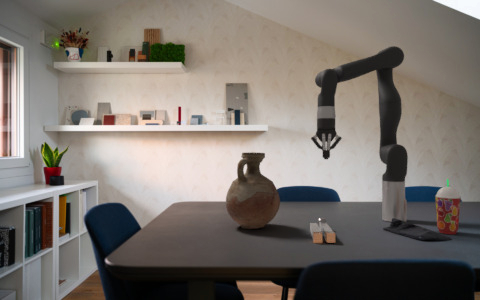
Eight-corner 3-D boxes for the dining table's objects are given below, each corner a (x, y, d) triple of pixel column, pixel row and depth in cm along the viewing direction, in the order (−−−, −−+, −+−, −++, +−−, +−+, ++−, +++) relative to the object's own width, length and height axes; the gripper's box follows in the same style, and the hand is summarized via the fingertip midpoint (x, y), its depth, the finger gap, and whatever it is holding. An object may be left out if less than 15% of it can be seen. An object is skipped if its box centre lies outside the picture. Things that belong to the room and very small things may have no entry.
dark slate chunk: (415, 243, 127) (415, 229, 127) (380, 230, 148) (380, 217, 148) (455, 241, 129) (456, 228, 129) (415, 228, 151) (415, 216, 151)
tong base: (309, 228, 148) (309, 217, 148) (325, 229, 147) (325, 217, 147) (313, 243, 125) (313, 229, 125) (333, 243, 125) (333, 230, 125)
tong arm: (319, 230, 144) (319, 222, 144) (326, 230, 144) (326, 222, 144) (326, 242, 125) (326, 233, 125) (335, 242, 125) (335, 233, 125)
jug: (287, 224, 156) (286, 152, 156) (268, 235, 137) (268, 152, 136) (239, 220, 165) (239, 152, 165) (216, 230, 146) (215, 152, 146)
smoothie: (457, 231, 143) (458, 178, 143) (463, 236, 135) (463, 180, 135) (433, 229, 146) (433, 178, 146) (437, 234, 138) (437, 179, 138)
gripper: (340, 118, 161) (340, 159, 161) (309, 118, 163) (309, 159, 163) (343, 117, 154) (343, 159, 154) (310, 117, 155) (310, 159, 155)
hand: (326, 159), depth 158 cm, fingers closed
